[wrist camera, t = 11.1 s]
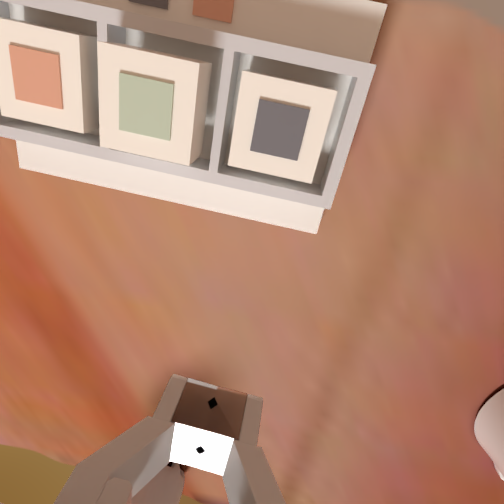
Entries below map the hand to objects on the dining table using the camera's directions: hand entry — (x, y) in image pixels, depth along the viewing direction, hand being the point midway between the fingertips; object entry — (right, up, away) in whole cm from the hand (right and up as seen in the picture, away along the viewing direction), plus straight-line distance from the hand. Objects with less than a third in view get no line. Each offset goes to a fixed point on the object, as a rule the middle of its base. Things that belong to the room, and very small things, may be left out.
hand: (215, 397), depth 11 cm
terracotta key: (-11, +17, +13) cm, 24 cm away
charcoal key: (+3, +13, +12) cm, 19 cm away
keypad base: (-4, +16, +14) cm, 21 cm away
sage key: (-4, +14, +11) cm, 18 cm away
